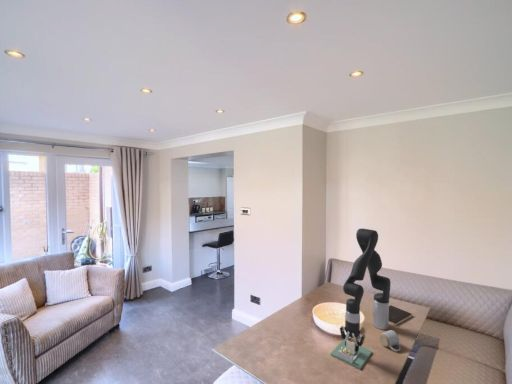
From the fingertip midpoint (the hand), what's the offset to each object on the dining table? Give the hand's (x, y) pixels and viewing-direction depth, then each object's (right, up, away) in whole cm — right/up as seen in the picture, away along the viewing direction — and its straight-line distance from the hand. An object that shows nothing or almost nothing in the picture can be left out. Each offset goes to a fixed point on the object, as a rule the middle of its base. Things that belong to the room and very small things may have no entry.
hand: (351, 349), depth 142 cm
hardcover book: (+45, -2, +41) cm, 61 cm away
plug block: (0, -1, 0) cm, 1 cm away
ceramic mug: (+25, -3, +7) cm, 27 cm away
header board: (0, -3, 0) cm, 2 cm away
